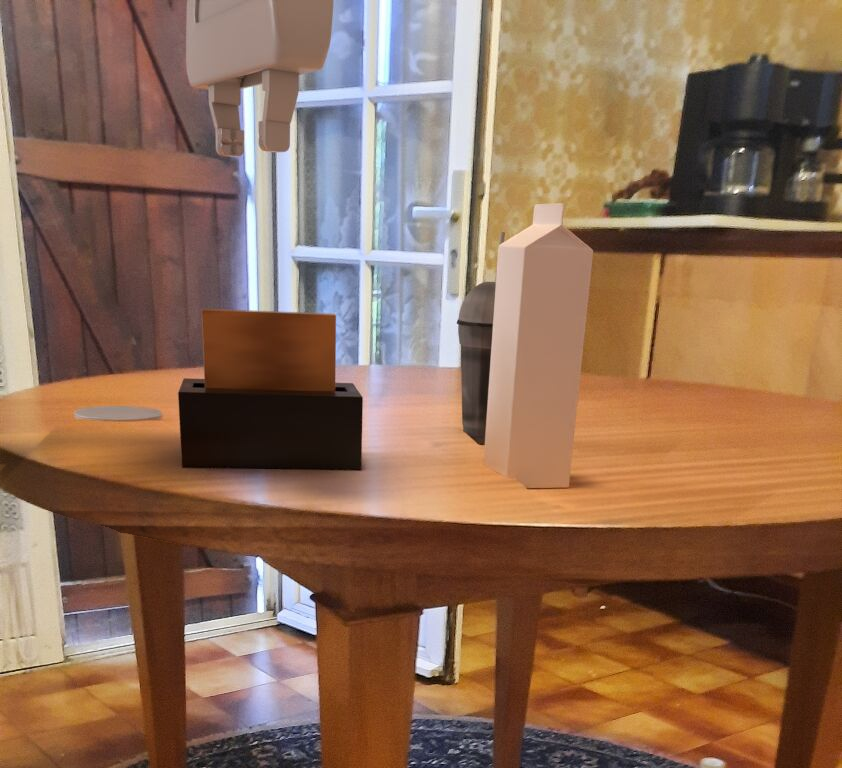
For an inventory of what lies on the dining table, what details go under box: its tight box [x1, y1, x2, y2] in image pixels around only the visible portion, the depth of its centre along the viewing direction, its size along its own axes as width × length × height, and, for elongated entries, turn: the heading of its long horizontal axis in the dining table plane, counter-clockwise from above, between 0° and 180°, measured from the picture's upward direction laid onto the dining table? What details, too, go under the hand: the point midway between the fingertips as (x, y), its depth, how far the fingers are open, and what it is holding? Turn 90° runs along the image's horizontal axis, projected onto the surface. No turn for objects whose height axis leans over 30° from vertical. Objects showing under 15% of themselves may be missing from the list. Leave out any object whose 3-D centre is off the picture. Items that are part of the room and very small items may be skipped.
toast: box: [201, 308, 337, 391], centre depth 91 cm, size 11×2×12 cm, turn 98°
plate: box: [73, 405, 164, 422], centre depth 112 cm, size 9×9×1 cm
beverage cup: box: [456, 231, 506, 446], centre depth 109 cm, size 7×7×20 cm
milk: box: [482, 202, 594, 489], centre depth 90 cm, size 6×6×22 cm
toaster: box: [177, 377, 364, 472], centre depth 93 cm, size 15×9×7 cm, turn 98°
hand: (251, 154), depth 78 cm, fingers open, 8 cm apart
